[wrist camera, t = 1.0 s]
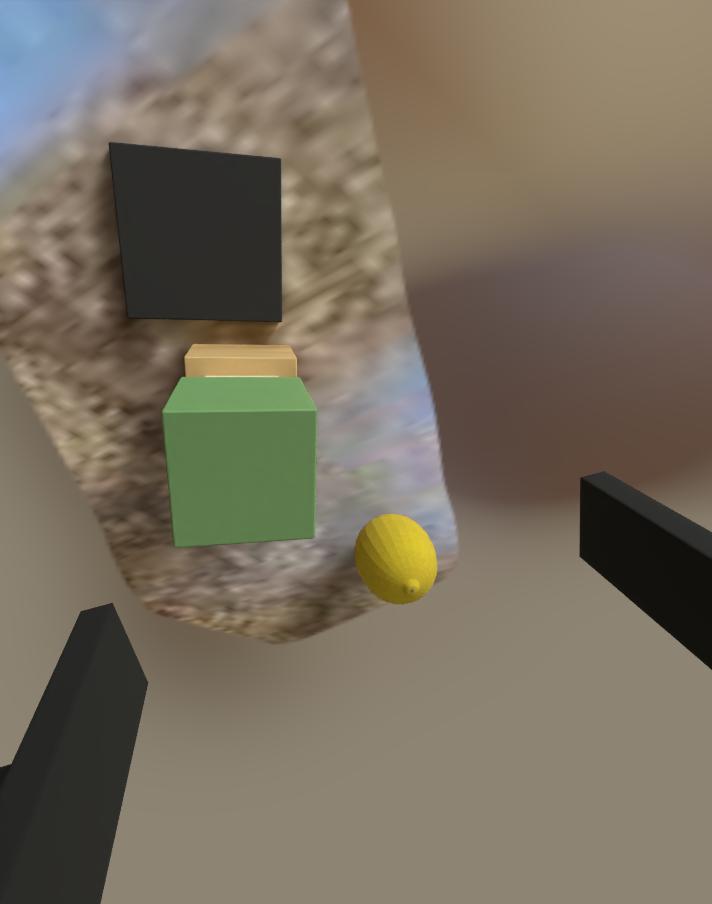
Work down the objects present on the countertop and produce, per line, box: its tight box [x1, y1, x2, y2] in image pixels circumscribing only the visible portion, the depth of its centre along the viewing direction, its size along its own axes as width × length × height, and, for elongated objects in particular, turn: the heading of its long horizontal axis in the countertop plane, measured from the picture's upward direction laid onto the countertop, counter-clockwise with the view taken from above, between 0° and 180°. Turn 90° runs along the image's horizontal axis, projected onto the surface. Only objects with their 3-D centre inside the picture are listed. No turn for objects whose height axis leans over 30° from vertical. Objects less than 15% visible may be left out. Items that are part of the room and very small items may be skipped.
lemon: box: [355, 514, 437, 604], centre depth 35 cm, size 6×6×8 cm
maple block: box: [184, 344, 297, 377], centre depth 30 cm, size 6×6×5 cm
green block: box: [162, 377, 317, 548], centre depth 21 cm, size 6×6×6 cm
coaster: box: [109, 142, 282, 322], centre depth 29 cm, size 9×9×1 cm
